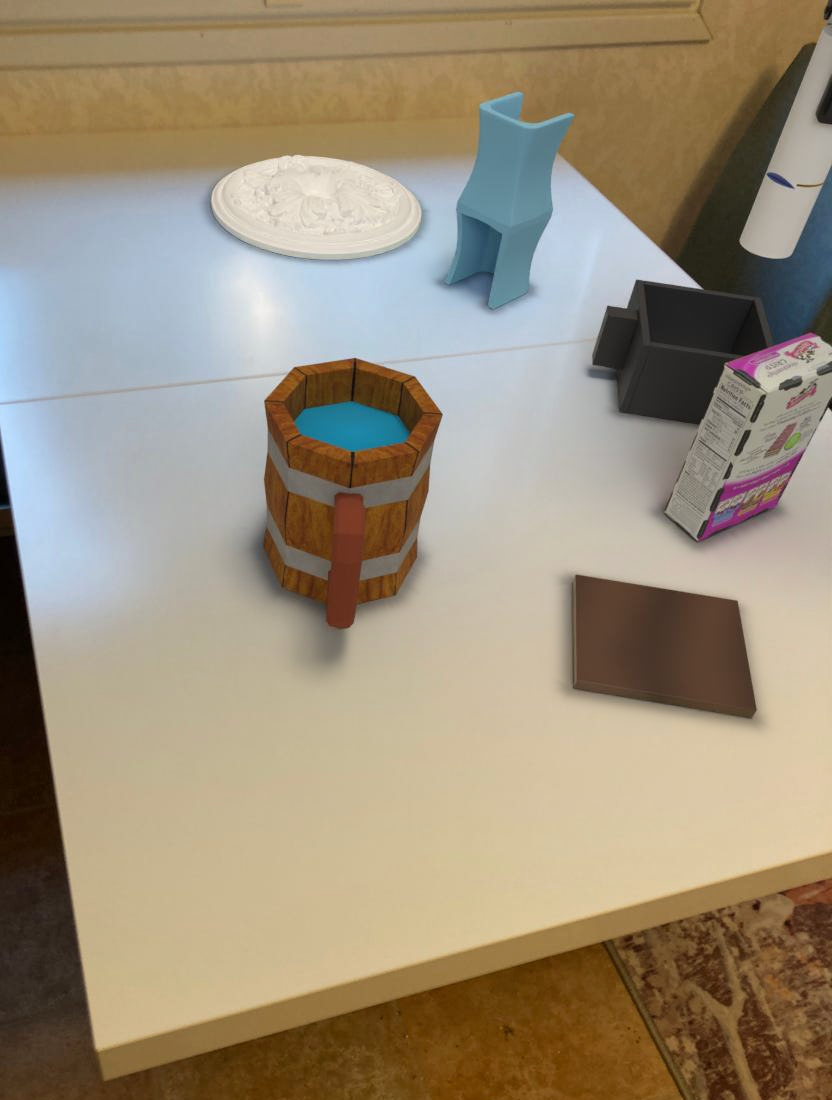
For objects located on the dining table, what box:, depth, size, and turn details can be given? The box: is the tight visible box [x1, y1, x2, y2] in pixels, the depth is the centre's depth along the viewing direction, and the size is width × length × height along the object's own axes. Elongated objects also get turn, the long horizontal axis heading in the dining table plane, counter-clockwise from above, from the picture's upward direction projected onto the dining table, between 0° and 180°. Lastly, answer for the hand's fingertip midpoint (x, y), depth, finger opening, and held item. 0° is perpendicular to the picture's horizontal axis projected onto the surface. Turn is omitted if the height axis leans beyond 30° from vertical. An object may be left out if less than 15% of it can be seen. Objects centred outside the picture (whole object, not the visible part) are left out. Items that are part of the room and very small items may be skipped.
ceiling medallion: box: [210, 154, 422, 261], centre depth 123 cm, size 28×28×3 cm
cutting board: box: [572, 574, 758, 718], centre depth 76 cm, size 14×12×1 cm
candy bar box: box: [663, 332, 832, 542], centre depth 83 cm, size 11×5×16 cm, turn 122°
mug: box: [262, 357, 444, 630], centre depth 73 cm, size 20×14×15 cm
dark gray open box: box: [591, 278, 775, 425], centre depth 100 cm, size 17×14×8 cm
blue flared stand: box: [444, 91, 576, 310], centre depth 107 cm, size 8×8×20 cm
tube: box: [739, 25, 832, 260], centre depth 70 cm, size 4×4×15 cm
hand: (824, 109), depth 68 cm, fingers closed on tube, 4 cm apart
